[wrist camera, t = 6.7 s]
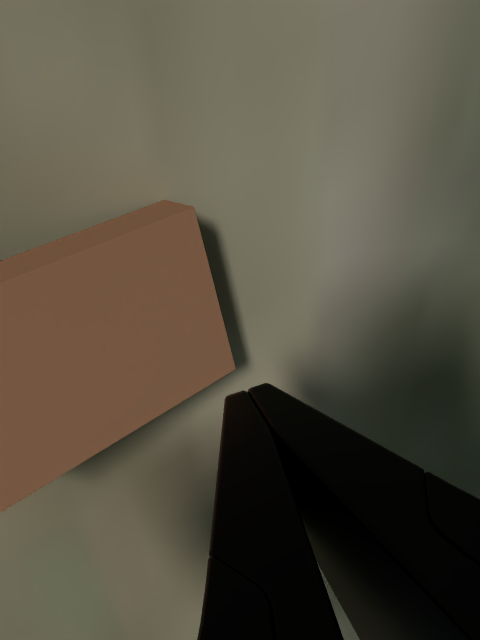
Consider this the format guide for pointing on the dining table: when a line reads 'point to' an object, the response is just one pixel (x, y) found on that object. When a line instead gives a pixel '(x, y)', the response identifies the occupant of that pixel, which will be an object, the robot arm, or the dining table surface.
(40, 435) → the domino
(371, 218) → the dining table surface
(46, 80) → the dining table surface
